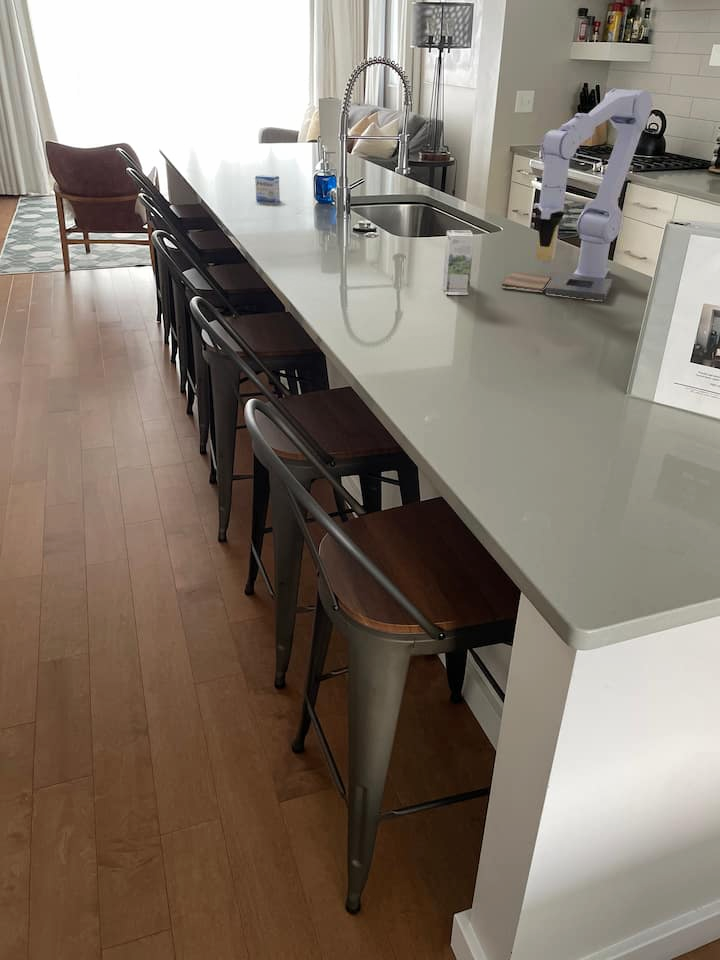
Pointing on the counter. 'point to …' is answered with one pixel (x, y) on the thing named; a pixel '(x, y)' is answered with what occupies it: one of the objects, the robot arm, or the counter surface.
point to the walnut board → (527, 281)
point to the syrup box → (458, 260)
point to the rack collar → (579, 286)
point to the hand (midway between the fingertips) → (546, 244)
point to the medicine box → (267, 188)
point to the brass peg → (547, 252)
